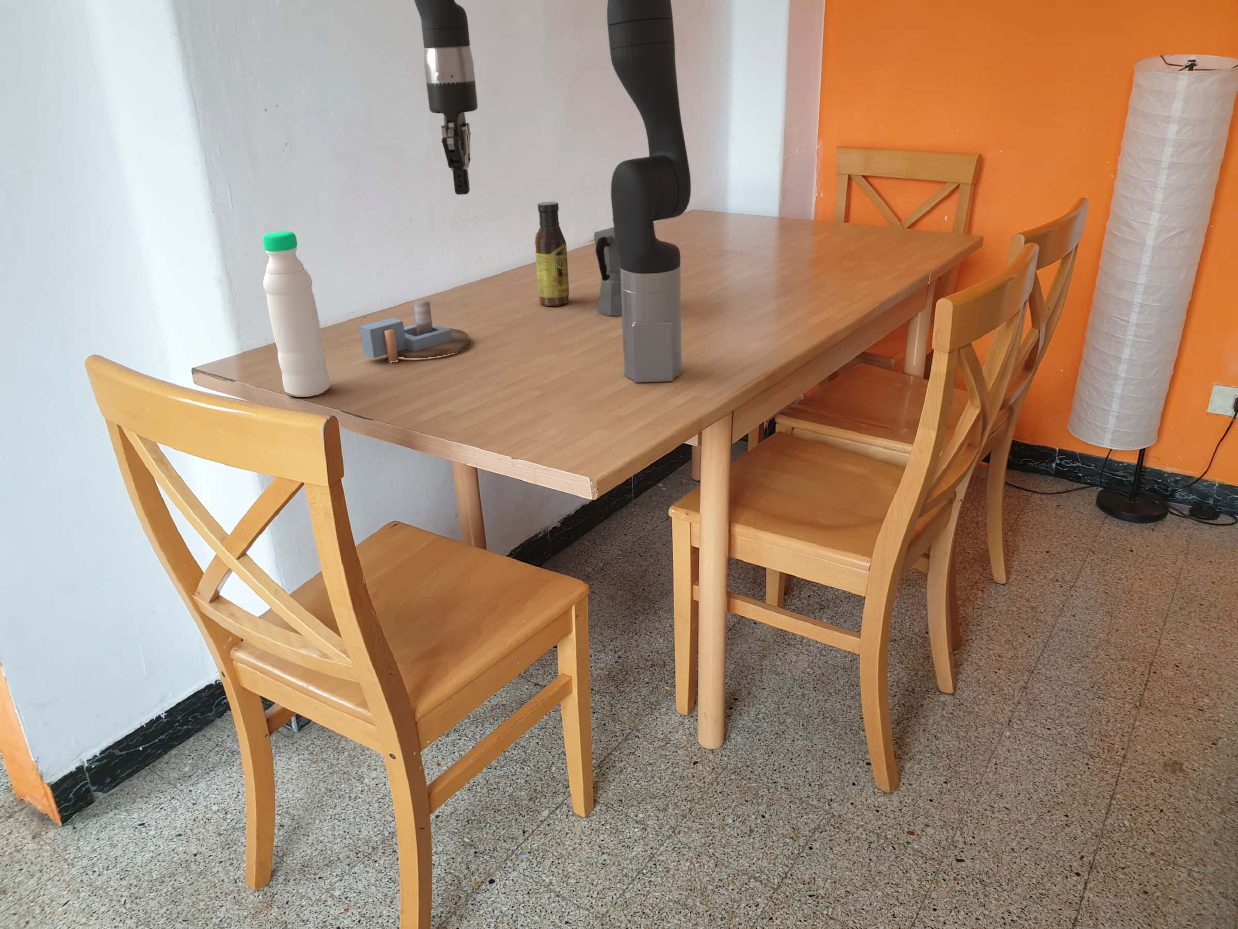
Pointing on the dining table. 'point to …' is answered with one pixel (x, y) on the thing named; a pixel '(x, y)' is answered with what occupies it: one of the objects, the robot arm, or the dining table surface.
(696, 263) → the dining table surface
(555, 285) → the sauce bottle
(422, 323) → the post stand
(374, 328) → the blue-grey block with frame
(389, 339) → the dowel
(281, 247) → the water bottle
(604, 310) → the coffeepot
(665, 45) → the robot arm
